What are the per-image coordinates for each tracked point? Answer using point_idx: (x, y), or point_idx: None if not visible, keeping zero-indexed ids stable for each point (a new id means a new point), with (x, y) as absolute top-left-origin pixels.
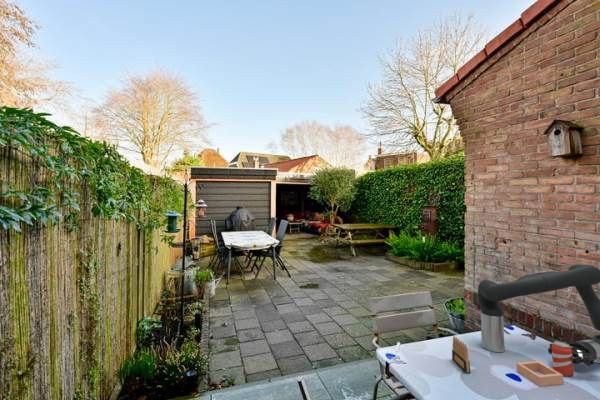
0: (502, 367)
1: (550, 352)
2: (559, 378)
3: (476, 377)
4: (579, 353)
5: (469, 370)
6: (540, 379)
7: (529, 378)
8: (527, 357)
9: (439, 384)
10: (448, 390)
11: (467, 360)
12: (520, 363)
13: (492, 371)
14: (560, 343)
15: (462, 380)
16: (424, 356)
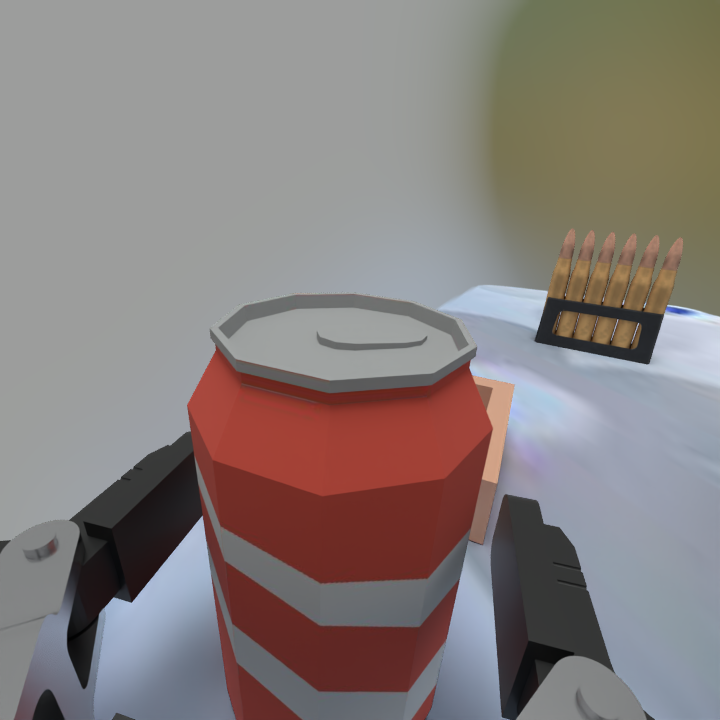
0: (559, 419)
1: (494, 532)
2: None
3: (506, 338)
4: (6, 641)
5: (539, 331)
6: None
7: None
8: None
9: (502, 300)
10: (474, 298)
11: (548, 291)
12: (503, 390)
13: (531, 377)
14: (380, 364)
15: (503, 320)
16: (677, 336)
